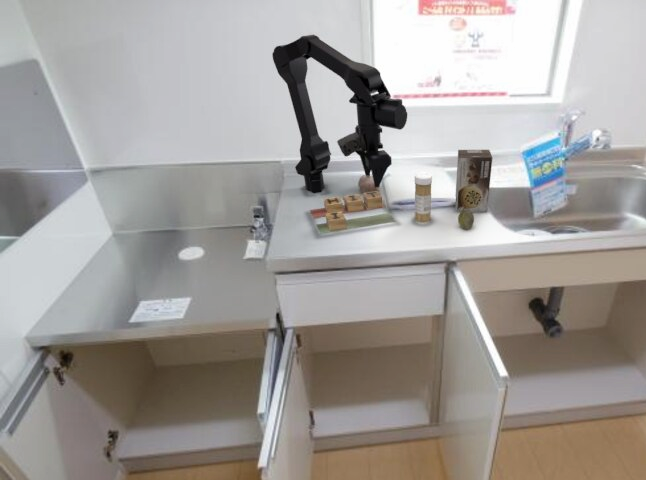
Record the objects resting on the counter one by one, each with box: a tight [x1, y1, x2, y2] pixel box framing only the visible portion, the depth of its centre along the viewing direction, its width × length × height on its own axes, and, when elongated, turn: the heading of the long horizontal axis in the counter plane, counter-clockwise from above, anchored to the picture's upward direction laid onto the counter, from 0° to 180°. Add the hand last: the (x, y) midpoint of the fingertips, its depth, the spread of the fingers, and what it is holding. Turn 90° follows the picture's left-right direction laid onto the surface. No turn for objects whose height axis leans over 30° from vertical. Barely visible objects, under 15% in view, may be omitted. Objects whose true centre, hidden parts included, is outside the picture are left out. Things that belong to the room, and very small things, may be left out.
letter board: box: [309, 201, 397, 235], centre depth 125 cm, size 15×22×1 cm
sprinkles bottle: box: [414, 171, 433, 223], centre depth 120 cm, size 5×5×14 cm
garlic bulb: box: [357, 174, 381, 193], centre depth 138 cm, size 8×7×8 cm
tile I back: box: [343, 193, 364, 212], centre depth 128 cm, size 4×4×3 cm
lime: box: [457, 209, 475, 230], centre depth 121 cm, size 4×5×5 cm
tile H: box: [323, 196, 344, 213], centre depth 126 cm, size 4×4×3 cm
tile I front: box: [325, 211, 347, 231], centre depth 119 cm, size 4×4×3 cm
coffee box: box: [454, 149, 493, 213], centre depth 127 cm, size 9×6×16 cm
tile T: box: [362, 191, 384, 209], centre depth 129 cm, size 4×4×3 cm
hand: (372, 180), depth 126 cm, fingers open, 9 cm apart
